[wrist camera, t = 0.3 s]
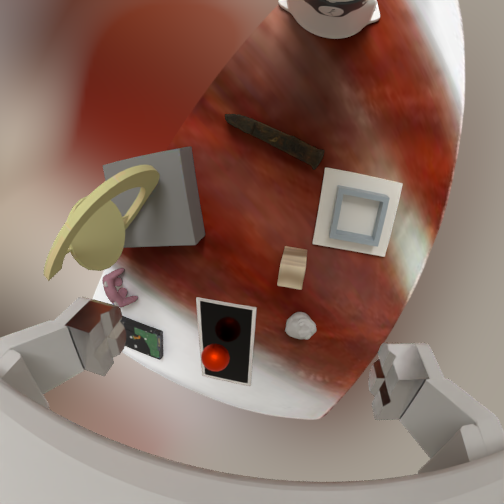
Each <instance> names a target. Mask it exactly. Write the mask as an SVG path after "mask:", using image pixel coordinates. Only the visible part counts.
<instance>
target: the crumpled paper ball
mask: <svg viewBox="0 0 504 504" xmlns="http://www.w3.org/2000/svg"><path fill="white" fill-rule="evenodd" d="M285 332H286V333H287V334H288V335H289V336H291V337H294V338H297V339H306V340H307V339H309V338H310V337H311V336H312V335H313V334H314V333H315V332H316V325H315V323H314V322H313V321H312V320H311V319H310V317H309V316H308V315H307V314H306V313H303V312H297V313H294V314H293V315H292V316H291V317H290V318H289V319H288V320H287V322H286V328H285Z"/></svg>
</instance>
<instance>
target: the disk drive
mask: <svg viewBox="0 0 504 504" xmlns="http://www.w3.org/2000/svg"><path fill="white" fill-rule="evenodd" d="M120 322H121V324H122V325H123V326H124V327H125V331H126V343H125V346H127V347H129V348H132V349H134V350H137V351H139V352H142V353H144V354H146V355H149V356H151V357H154V358H157V359H161V358H162V356H163V332H162V331H160V330H158V329H155V328H152V327H150V326H147V325H144V324H141V323H139V322H136V321H134V320H131V319H129V318H126V317H124V316H122V318H121V320H120Z"/></svg>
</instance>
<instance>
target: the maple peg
mask: <svg viewBox="0 0 504 504" xmlns="http://www.w3.org/2000/svg"><path fill="white" fill-rule="evenodd" d="M306 259H307V250H306V249H300V248H294V247H288V246H285V248H284V252H283V256H282V260H281V263H280V270H279V276H278V283H277V286H283V287H289V288H294V289H300V290H301V289H302V284H303V279H304V274H305V269H306Z"/></svg>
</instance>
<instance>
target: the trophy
mask: <svg viewBox="0 0 504 504" xmlns="http://www.w3.org/2000/svg"><path fill="white" fill-rule="evenodd" d="M103 170H104V175H105V180H106V181H105V182H104V183H103V184H101V185H100V186H99V187H98V188H96V189H95V190H94V191H93V192H92V193H91V194H90V195H89V196H87V197H85V198H82V199H80V200H79V201H78V202H77V203H76V204H75V205H74V206H73V208H72V210H71V212H70V214H69V216H68V219H67V222H66V223H65V225H64V226H63V227H62V229H61V231H60V232H59V234H58V236H57V237H56V239H55V241H54V243H53V245H52V247H51V250H50V252H49V255H48V257H47V260H46V263H45V267H44V276H45V277H46V278H47V279H48V281H49V280H50V279H51V278H52V277H53V276H54V275H55V274H56V273H57V272H58V271H59V270H61V268H62V264H63V260H64V257H65V255H66V254H67V253H69V252H71V254H72V256H73V257H74V259H75V260H76V261H77V262H78V263H79V264H80V265H81V266H83V267H85V268H87V269H88V270H98V271H101V270H104V269H107V268H110V267H111V266H112V265H113V264H114V263H116V261H117V260H118V258H119V257H120V255H121V253H122V250H123V248H125V247H152V246H180V245H196V244H197V243H198V242H199V241H200V240H201V239H202V238H203V237H204V236H205V230H204V224H203V219H202V213H201V207H200V200H199V194H198V188H197V182H196V175H195V168H194V162H193V155H192V148H191V147H185V148H179V149H173V150H168V151H164V152H158V153H153V154H148V155H143V156H139V157H134V158H130V159H126V160H122V161H117V162H114V163H110V164H107V165H103ZM68 248H69V249H68Z"/></svg>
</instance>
